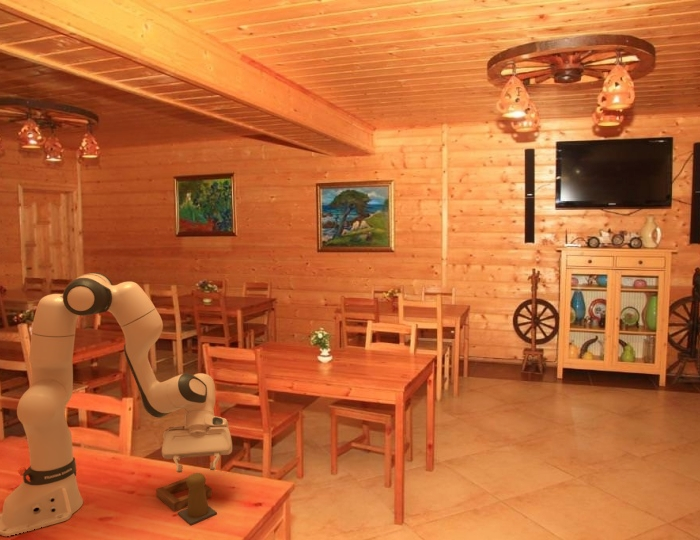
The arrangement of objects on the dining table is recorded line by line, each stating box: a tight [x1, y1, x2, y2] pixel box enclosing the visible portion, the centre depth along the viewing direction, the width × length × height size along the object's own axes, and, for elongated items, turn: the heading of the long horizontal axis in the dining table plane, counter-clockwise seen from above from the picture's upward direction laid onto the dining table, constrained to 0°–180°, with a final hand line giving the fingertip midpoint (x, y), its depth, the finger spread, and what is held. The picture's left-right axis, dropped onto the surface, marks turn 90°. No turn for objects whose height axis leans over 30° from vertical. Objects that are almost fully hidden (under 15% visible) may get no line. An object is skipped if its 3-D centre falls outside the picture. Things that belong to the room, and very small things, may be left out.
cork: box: [186, 472, 209, 518], centre depth 156 cm, size 6×6×11 cm
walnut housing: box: [155, 476, 213, 513], centre depth 167 cm, size 12×12×2 cm
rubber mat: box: [177, 505, 218, 526], centre depth 157 cm, size 8×8×1 cm
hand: (196, 470), depth 160 cm, fingers open, 8 cm apart
